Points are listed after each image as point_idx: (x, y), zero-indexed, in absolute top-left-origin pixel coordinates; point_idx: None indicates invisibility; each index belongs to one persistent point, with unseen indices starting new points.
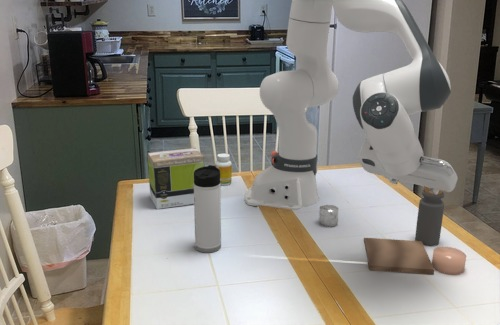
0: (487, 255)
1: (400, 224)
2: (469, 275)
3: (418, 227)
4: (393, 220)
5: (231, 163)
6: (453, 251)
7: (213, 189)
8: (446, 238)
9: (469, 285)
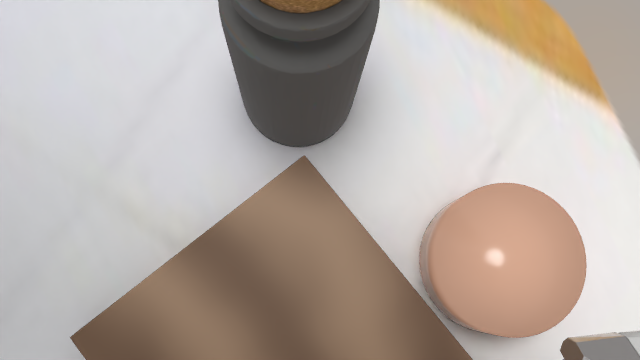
0: (545, 39)
1: (118, 23)
2: None
3: (266, 118)
4: (68, 6)
5: None
6: (510, 221)
7: None
8: None
9: None
